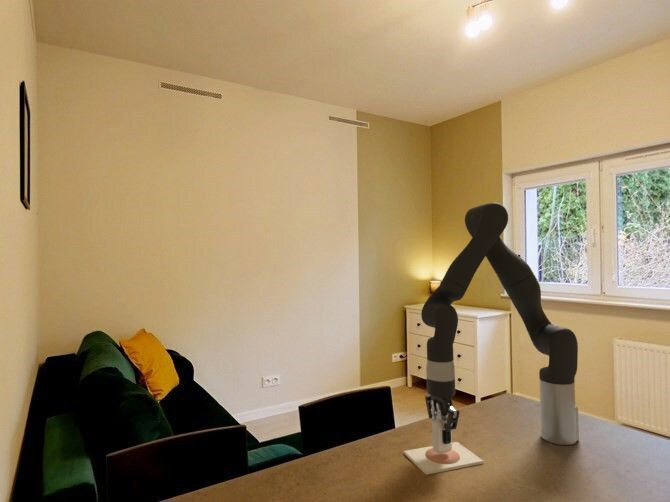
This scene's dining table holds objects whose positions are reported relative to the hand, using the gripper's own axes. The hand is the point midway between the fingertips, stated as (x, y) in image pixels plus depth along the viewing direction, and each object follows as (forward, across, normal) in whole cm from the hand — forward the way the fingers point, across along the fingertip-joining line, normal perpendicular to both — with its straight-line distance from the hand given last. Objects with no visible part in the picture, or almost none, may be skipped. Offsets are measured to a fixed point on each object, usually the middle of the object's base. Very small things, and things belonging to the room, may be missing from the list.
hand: (442, 439), depth 112 cm
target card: (+5, 0, 0) cm, 5 cm away
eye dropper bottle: (+3, 0, 0) cm, 3 cm away
